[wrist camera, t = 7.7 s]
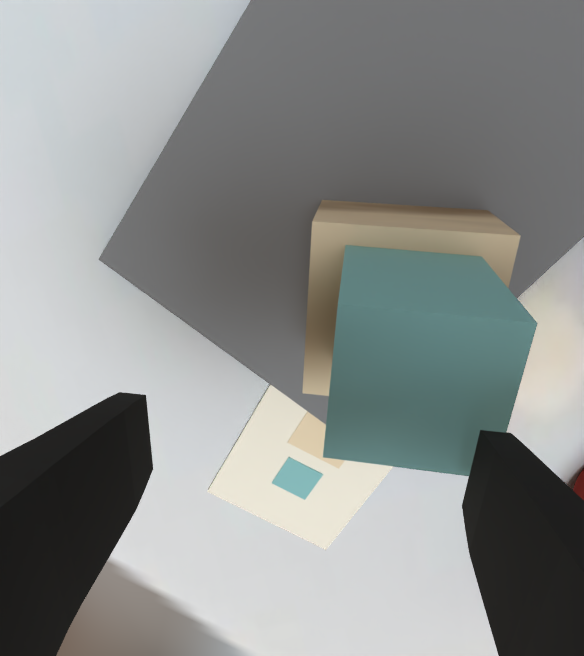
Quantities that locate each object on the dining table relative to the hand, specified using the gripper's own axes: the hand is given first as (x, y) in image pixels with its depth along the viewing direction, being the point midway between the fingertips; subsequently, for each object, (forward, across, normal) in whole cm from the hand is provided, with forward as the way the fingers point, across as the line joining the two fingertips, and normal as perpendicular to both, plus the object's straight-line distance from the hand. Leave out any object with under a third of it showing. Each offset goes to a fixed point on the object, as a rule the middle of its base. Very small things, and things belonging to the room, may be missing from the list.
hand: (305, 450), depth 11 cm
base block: (+10, -2, -1) cm, 10 cm away
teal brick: (+6, -2, -1) cm, 7 cm away
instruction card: (+10, 0, +8) cm, 13 cm away
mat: (+10, -2, -5) cm, 12 cm away
